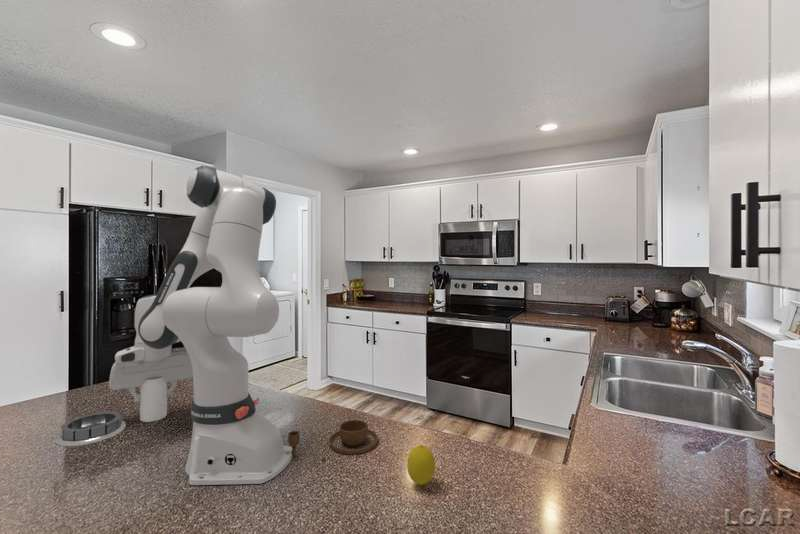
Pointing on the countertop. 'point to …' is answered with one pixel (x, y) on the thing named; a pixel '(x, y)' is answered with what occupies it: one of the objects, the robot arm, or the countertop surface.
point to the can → (153, 400)
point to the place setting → (343, 437)
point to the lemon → (421, 465)
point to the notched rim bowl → (90, 429)
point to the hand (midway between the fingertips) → (153, 398)
